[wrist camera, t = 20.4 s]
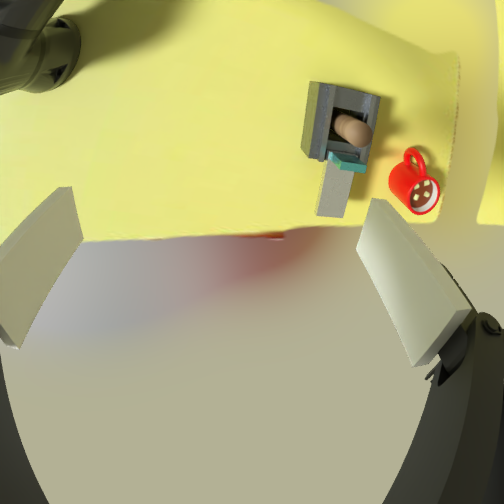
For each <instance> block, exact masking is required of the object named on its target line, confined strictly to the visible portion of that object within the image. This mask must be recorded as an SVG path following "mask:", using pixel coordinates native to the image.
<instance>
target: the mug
mask: <svg viewBox="0 0 504 504" xmlns="http://www.w3.org/2000/svg"><path fill="white" fill-rule="evenodd" d="M411 155H412V156H413V157H414V158H415V159H416V161H417V164H418V166H416V165H415V164H413V163H411ZM389 188H390V190H391V192H392V193H393V194H394V195H395V196H396V197H397V198H398V199H399V200H400V201H401V202H402V203H403V204H404V205H405V206H406V207H407V208H408V209H409V210H410V211H411V212H412V213H414V214H416V215H423V214H426V213H428V212H430V211H431V210H432V209H433V208H434V207H435V205H436V204H437V202H438V200H439V196H440V187H439V184H438V182H437V181H436V180H435V179H434V178H433V177H431V176H430V175H429V174H427V171H426V165H425V162H424V159H423V157H422V155H421V154H420V153H419V151H417V150H416V149H415V148H411V147H410V148H408V149H406V151H405V153H404V162H401V163H399V164H398V165H396V166H395V167H394V168H393V170H392V171H391V173H390V176H389Z"/></svg>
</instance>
